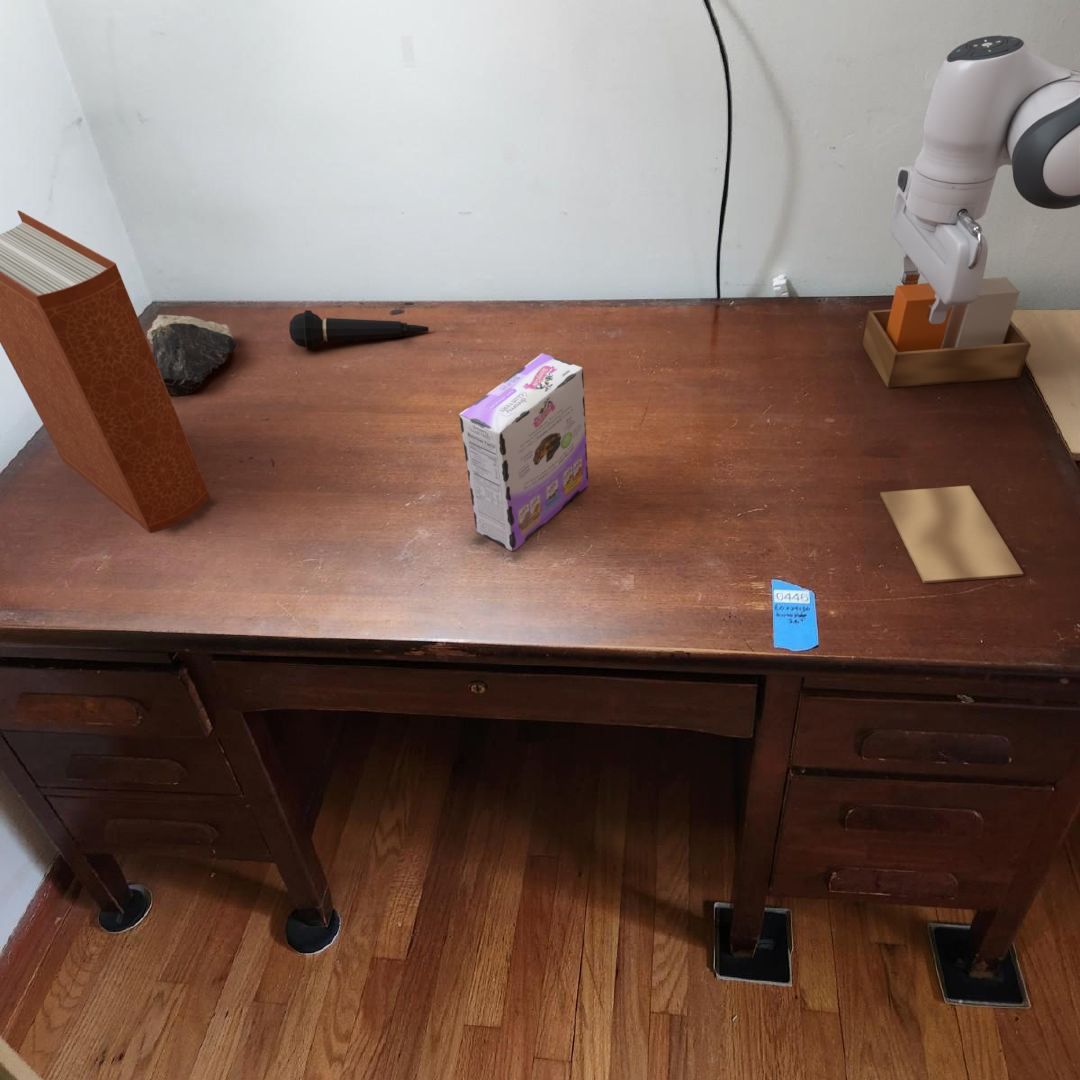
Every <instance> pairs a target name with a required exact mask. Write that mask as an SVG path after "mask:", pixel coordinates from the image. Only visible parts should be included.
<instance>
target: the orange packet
mask: <svg viewBox="0 0 1080 1080" xmlns="http://www.w3.org/2000/svg"><path fill="white" fill-rule="evenodd" d="M935 293H936V292H935V291H934V290H933V288H932V287H931V286H930V284H929V283H928V282H925V283H918V284H912V285H903V284H901V285H896V286H895V290H894V295H893V300H892V304H891V307H890V308H891V312H890V317H889V321H888V326H887V330H886V334H887V336H888V338H889V339H890V341H891V342H892V344H893V346H894V347H895V349H896V350H897V352H907V351H920V350H933V349H941V346H942V343H943V339H944V335H945V332H946V328H947V324H948V321H949V317H950V313H951V310H952V307H951V308H950V309H949V310H948V311H947V315H946V318H945V321H944V322H943V323H941V324H931V323H930V321H929V320H928V318H927V317H926V315H927V313H928V307H929V305H933V304H934V303H935V301H936V299H935Z"/></svg>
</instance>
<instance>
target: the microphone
mask: <svg viewBox="0 0 1080 1080" xmlns="http://www.w3.org/2000/svg"><path fill="white" fill-rule="evenodd" d="M288 327H289V328H288V329H289V330H288V331H289V335H290V339H291V341H293V343H294V344H295V345H296V346H298V347H300V348H306V350H308V351H315V349H316V348H318V347H319V346H321V345H322V343H323V342H324V341H326V342H327V343H336V342H343V343H345V344H352V343H356V342H357V341H364V340H365V341H366V340H367V341H368V340H379V339H380V340H381V339H394V338H402V337H408V335H411V334H412V335H413V334H421V333H426V332H429V326H425V325H420V324H419V325H417V324H408V323H407V322H402V321H401V320H400V321H399V320H397V321H396V320H379V319H378V320H377V319H357V318H333V317H325V318H324V319H322V318H321V317H320V316H319V315H318V314H316V313H314V312H313V311H312V310H309V309H305V310H304V312H301V313H297V314H295V315H293V317H292V318H291V320H290V321H289V326H288Z"/></svg>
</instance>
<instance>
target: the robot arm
mask: <svg viewBox="0 0 1080 1080" xmlns="http://www.w3.org/2000/svg"><path fill="white" fill-rule="evenodd" d="M922 131H923V143H922V147H921V150H920V152H919V154H918V156H917V157H916V159H915V163H914V164H913V165H904V166H900V167H898V169H897V172H896V177H895V184H896V185H897V189H896V192H895V195H894V201H893V207H892V213H891V219H890V230H891V231H890V232H891V236H892V238H893V239H894V240H895V241H896V242H897V244H898V245H899V246H900V248H901V249H902V250H901V270H902V271H901V275H900V279H899V280H900V283H901V284H902V285H912V284H919V279H920V276H921V275H922V277H923V278H924V280H925V281H926V283H929V284H930V286H931V287H932V288H933V290H934V291H935V292H936V293H935V299H936V301H935V303H934V304H933V305H929V307H928V313H927V315H926V317H927V318H928V320H929V321H930V323H931V324H941V323H943V322H944V321H945V318H946V315H947V311H948V310H949V309H950V308H951V307H952V306H953V305H964V304H971V303H973V302H974V301H975V300H976V299H977V298H978V296H979V293H980V289H981V285H982V281H983V279H984V276H985V271H986V267H987V261H988V252H989V245H988V241H987V239H986V237H985V235H983V233H982V232H983V228H982V226H981V224H980V223H978V222H977V220H980V219H982V217H984V215H985V214H986V212H987V208H988V205H989V202H990V198H991V195H992V191H993V188H994V185H995V180H996V177H997V174H998V171H999V169H1000V168H1001V167H1003V166H1011V170H1012V178H1013V184H1014V186H1015V188H1016V190H1017V192H1018V193H1019V195H1020V196H1021V197H1022V198H1023V199H1024V200H1025V201H1026V202H1028V203H1029V204H1032V205H1033V206H1036V207H1038V208H1042V209H1047V210H1064V209H1070V208H1071V209H1072V208H1074V207H1078V206H1080V71H1078V70H1074V69H1070V68H1066V67H1063V66H1060V65H1057V64H1055V63H1053V62H1051V61H1049V60H1047V59H1045V58H1044V57H1042V56H1040V55H1038V54H1037V53H1036V52H1034V51H1033V50H1032V49H1031V48H1029V46H1028V45H1027V44H1026V42H1025V41H1024V40H1023V39H1021V38H1019V37H1015V36H1013V35H1012V36H1011V35H1000V34H999V35H988V36H982V37H977V38H974V39H971V40H967V42H963V43H961V44H960V45H958V46H956V47H955V48H954V49H953V50H952V51H950V53H949V54H948V55H947V56H946V58H945V59H944V61H943V63H942V64H941V67H940V69H939V71H938V74H937V76H936V79H935V81H934V85H933V88H932V91H931V95H930V97H929V102H928V106H927V110H926V114H925V119H924V122H923V129H922Z"/></svg>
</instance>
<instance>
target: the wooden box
mask: <svg viewBox="0 0 1080 1080" xmlns="http://www.w3.org/2000/svg"><path fill="white" fill-rule="evenodd" d="M890 312H891V309H890V308H889V309H879V310H868V311H867V315H866V320H865V325H864V330H863V334H862V340H861V345H862V347H863V349H864V350H865V352H866V354H867V355H868V357H869V359H870V361H871V362H872V364H873V366H874V368H875V370H876V371H877V373H878V375H879V376H880V378H881V379H882V382H883V383H884V385H885V387H886V388H887V389H894V388H905V387H918V386H932V385H945V384H956V383H957V384H958V383H970V382H971V383H972V382H984V381H995V380H997V381H998V380H1010V379H1020V376H1021V374H1022V371H1023V368H1024V365H1025V363H1026V359H1027V357H1028V354H1029V351H1030V348H1031V345H1032V343H1031V342H1030V341H1029V340H1028V338H1027V337H1026V336H1025V335H1024V334H1023V333H1022V331H1021V330H1020V329H1019V328H1018V326H1017V325H1016V324H1015V323H1014V322H1013V321H1012V320H1011V321H1010V324H1009V327H1008V330H1007V333H1006V336H1005V339H1004V342H1003V344H998V345H985V346H972V347H959V348H946V349H933V350H920V351H907V352H897V350H896V349H895V347H894V346H893V344H892V342H891V341H890V339H889V338H888V336H887V334H886V330H887V326H888V321H889V317H890Z"/></svg>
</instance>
